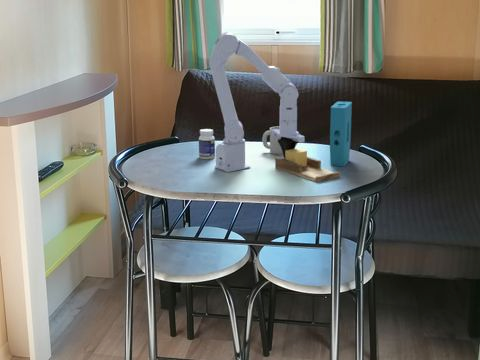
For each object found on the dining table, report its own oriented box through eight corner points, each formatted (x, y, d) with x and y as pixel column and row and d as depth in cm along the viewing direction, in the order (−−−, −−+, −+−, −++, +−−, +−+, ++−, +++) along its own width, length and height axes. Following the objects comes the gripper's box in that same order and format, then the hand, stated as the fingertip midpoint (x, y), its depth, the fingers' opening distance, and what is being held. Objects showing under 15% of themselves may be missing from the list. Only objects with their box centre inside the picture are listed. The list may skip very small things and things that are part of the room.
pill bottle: (214, 159, 237) (214, 131, 234) (198, 159, 237) (197, 131, 234) (215, 155, 242) (214, 128, 239) (199, 155, 242) (198, 128, 240)
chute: (317, 182, 208) (317, 171, 207) (275, 168, 225) (275, 157, 224) (339, 177, 213) (340, 166, 212) (297, 163, 230) (297, 153, 229)
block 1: (295, 168, 220) (295, 153, 218) (285, 165, 224) (285, 150, 222) (306, 165, 222) (306, 151, 221) (296, 162, 226) (297, 148, 225)
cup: (288, 155, 241) (288, 130, 239) (260, 154, 243) (260, 130, 241) (290, 150, 248) (291, 126, 246) (264, 149, 250) (263, 125, 248)
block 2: (343, 167, 224) (345, 108, 219) (328, 166, 226) (330, 107, 220) (350, 158, 235) (352, 102, 229) (336, 157, 237) (337, 101, 231)
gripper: (311, 121, 219) (311, 162, 223) (283, 115, 230) (283, 153, 234) (295, 124, 215) (294, 165, 219) (267, 117, 226) (267, 157, 230)
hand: (287, 159), depth 226 cm, fingers closed
